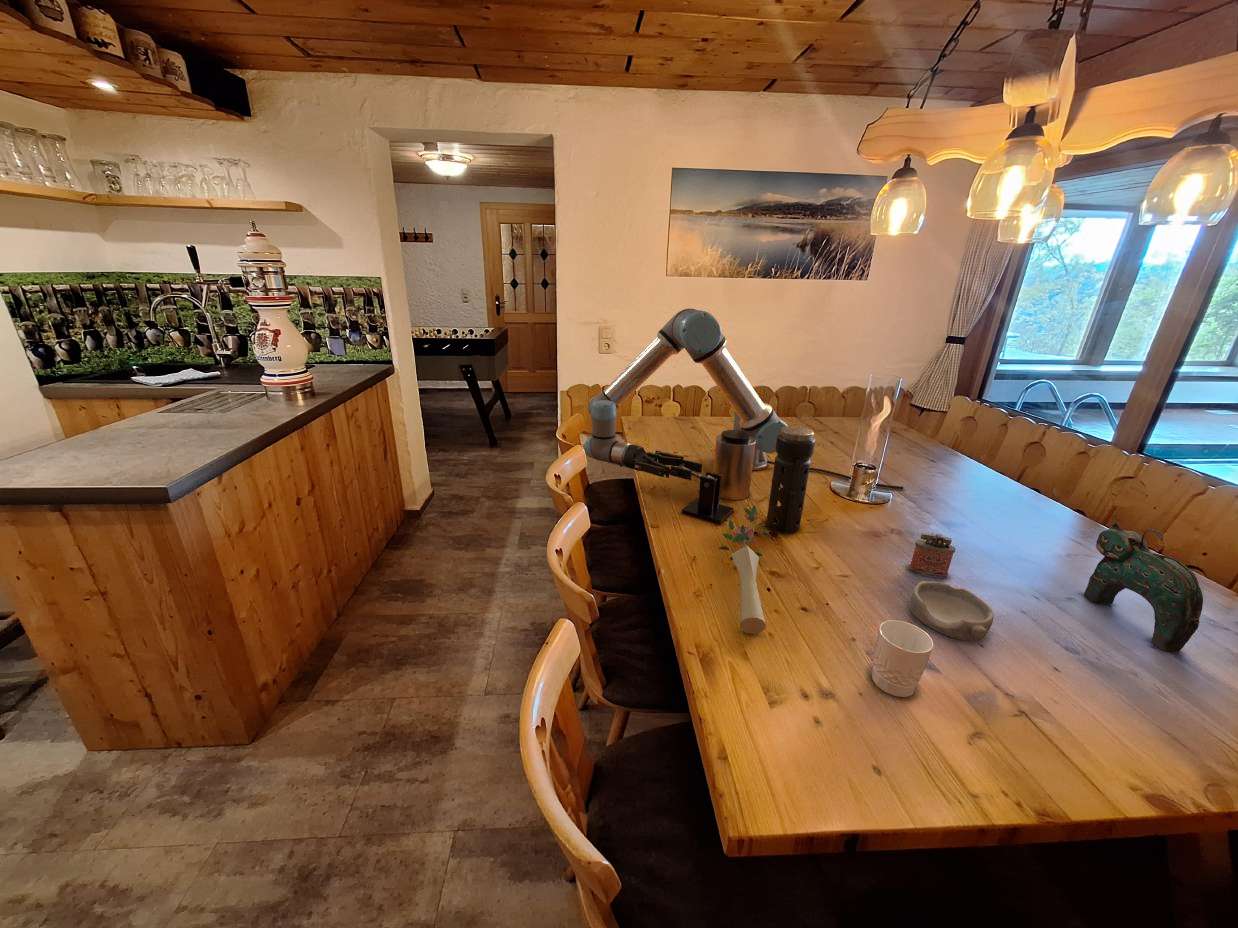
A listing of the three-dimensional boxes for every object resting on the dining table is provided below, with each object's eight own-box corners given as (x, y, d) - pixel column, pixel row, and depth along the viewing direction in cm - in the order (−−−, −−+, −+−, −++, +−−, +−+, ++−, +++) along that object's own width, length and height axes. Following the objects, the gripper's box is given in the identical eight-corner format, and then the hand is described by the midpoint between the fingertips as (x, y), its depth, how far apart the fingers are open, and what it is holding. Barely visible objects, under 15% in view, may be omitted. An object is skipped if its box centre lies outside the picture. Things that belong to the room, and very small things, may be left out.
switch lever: (672, 473, 143) (674, 466, 142) (681, 467, 147) (683, 460, 146) (709, 490, 138) (711, 483, 136) (717, 483, 142) (720, 476, 141)
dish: (990, 653, 91) (998, 631, 89) (905, 626, 98) (911, 605, 96) (985, 611, 103) (992, 591, 101) (910, 589, 109) (915, 570, 108)
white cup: (858, 666, 88) (869, 620, 84) (900, 664, 88) (913, 618, 85) (884, 701, 80) (898, 653, 77) (929, 699, 81) (945, 651, 77)
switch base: (681, 513, 143) (684, 476, 138) (696, 501, 150) (699, 466, 146) (720, 525, 137) (724, 486, 132) (733, 511, 144) (737, 475, 140)
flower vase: (730, 655, 100) (722, 539, 129) (792, 650, 96) (770, 531, 125) (717, 617, 94) (712, 504, 123) (783, 611, 91) (762, 496, 119)
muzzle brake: (805, 536, 131) (796, 518, 141) (822, 437, 121) (811, 425, 131) (769, 534, 132) (762, 516, 142) (783, 435, 122) (774, 424, 131)
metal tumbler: (705, 493, 156) (710, 435, 149) (719, 481, 165) (725, 426, 158) (741, 503, 150) (748, 442, 143) (754, 490, 159) (761, 432, 152)
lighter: (945, 571, 116) (956, 535, 113) (949, 579, 113) (960, 542, 110) (907, 565, 119) (917, 529, 115) (910, 572, 116) (920, 535, 112)
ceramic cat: (1071, 590, 110) (1105, 510, 103) (1100, 591, 110) (1136, 511, 103) (1159, 654, 92) (1207, 562, 85) (1194, 655, 92) (1246, 563, 84)
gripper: (644, 458, 162) (708, 473, 150) (611, 476, 147) (680, 495, 136) (644, 436, 159) (710, 450, 148) (612, 452, 145) (682, 469, 133)
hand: (696, 471), depth 142 cm, fingers closed on switch lever, 6 cm apart
